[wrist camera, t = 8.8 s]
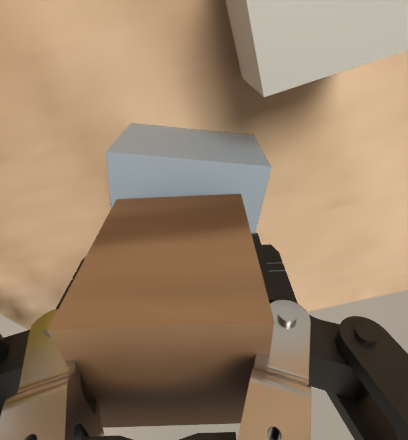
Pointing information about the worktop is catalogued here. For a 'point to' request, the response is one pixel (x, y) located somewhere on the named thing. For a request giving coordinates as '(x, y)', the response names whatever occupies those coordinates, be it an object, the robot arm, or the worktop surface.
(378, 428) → the robot arm
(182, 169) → the base block
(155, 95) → the worktop surface
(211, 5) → the worktop surface
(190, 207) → the walnut block
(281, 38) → the grey block
